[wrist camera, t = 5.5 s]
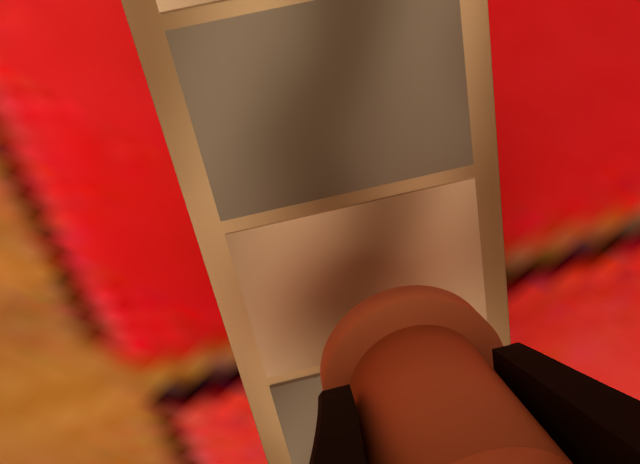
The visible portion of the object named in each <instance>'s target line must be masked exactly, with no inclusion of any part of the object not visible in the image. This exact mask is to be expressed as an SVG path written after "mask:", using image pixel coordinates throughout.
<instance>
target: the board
mask: <svg viewBox="0 0 640 464" xmlns="http://www.w3.org/2000/svg"><path fill="white" fill-rule="evenodd" d="M121 2H122V5H123V8H124V11H125V14H126V17H127V20H128V24H129V27H130V30H131V33H132V36H133V39H134V43H135V46H136V49H137V52H138V55H139V58H140V61H141V65H142V68H143V71H144V74H145V77H146V80H147V83H148V87H149V90H150V93H151V96H152V99H153V102H154V106H155V109H156V112H157V115H158V118H159V121H160V124H161V128H162V131H163V134H164V137H165V140H166V143H167V146H168V150H169V153H170V156H171V159H172V162H173V165H174V169H175V172H176V175H177V178H178V181H179V184H180V187H181V191H182V194H183V197H184V200H185V203H186V206H187V209H188V213H189V216H190V219H191V222H192V225H193V228H194V232H195V235H196V238H197V241H198V244H199V247H200V250H201V254H202V257H203V260H204V263H205V266H206V269H207V272H208V276H209V279H210V282H211V285H212V288H213V291H214V295H215V298H216V301H217V304H218V307H219V310H220V313H221V317H222V320H223V323H224V326H225V329H226V332H227V335H228V339H229V342H230V345H231V348H232V351H233V354H234V358H235V361H236V364H237V367H238V370H239V373H240V376H241V380H242V383H243V386H244V389H245V392H246V395H247V398H248V402H249V405H250V408H251V411H252V414H253V417H254V420H255V424H256V427H257V430H258V433H259V436H260V439H261V443H262V446H263V449H264V452H265V455H266V458H267V461H268V464H309V462H310V457H311V452H312V448H313V442H314V436H315V430H316V423H317V414H318V396H319V395H320V393H321V392H322V391H323V390H322V384H321V377H320V365H321V358H322V354H323V350H324V347H325V344H326V342H327V340H328V338H329V336H330V334H331V332H332V331H333V329H334V328H335V326H336V325H337V324H338V322H339V321H340V320H341V319H342V318H343V317H344V316H345V315H346V314H347V313H348V312H349V311H350V310H351V309H352V308H354V307H355V306H356V305H358V304H359V303H360V302H362V301H364V300H365V299H367V298H369V297H371V296H373V295H375V294H377V293H380V292H382V291H385V290H388V289H392V288H395V287H401V286H409V285H424V286H432V287H437V288H441V289H444V290H447V291H450V292H452V293H454V294H456V295H458V296H460V297H461V298H462V299H464V300H465V301H466V302H468V303H469V304H470V305H471V306H472V307H473V308H474V309H475V310H476V311H477V312H478V313H479V314H480V315H481V316H482V317H483V318H484V319H485V320H486V321H487V322H488V323H489V324H490V325H491V326H492V327H493V329H494V330H495V331H496V333H497V334H498V336H499V338H500V340H501V342H502V344H503V346H506V345H510V344H511V342H510V328H509V313H508V298H507V283H506V268H505V253H504V238H503V224H502V209H501V194H500V179H499V164H498V149H497V134H496V120H495V105H494V90H493V75H492V60H491V45H490V30H489V16H488V1H487V0H121Z"/></svg>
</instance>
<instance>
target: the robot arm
mask: <svg viewBox="0 0 640 464" xmlns="http://www.w3.org/2000/svg"><path fill="white" fill-rule="evenodd" d="M492 355H493V367H494V370H495V372H496V373H497V374H498V375H499V376H500V378H501V379H502V380H503V381H504V382H505V384H506V385H507V386H508V387H509V388H510V389H511V391H512V392H513V393H514V394H515V395H516V397H517V398H518V399H519V400H520V401H521V402H522V404H523V405H524V406H525V407H526V408H527V410H528V411H529V412H530V413H531V414H532V415H533V417H534V418H535V419H536V420H537V421H538V423H539V424H540V425H541V426H542V427H543V429H544V430H545V431H546V432H547V433H548V434H549V436H550V437H551V438H552V439H553V440H554V442H555V443H556V444H557V445H558V446H559V447H560V449H561V450H562V451H563V452H564V453H565V455H566V456H567V457H568V458H569V459H570V460H571V462H572V463H573V464H640V401H639V400H637V399H635V398H633V397H631V396H628V395H626V394H624V393H622V392H620V391H618V390H616V389H614V388H611V387H609V386H607V385H605V384H603V383H601V382H599V381H597V380H595V379H593V378H591V377H589V376H587V375H585V374H583V373H580V372H578V371H576V370H574V369H572V368H570V367H568V366H566V365H564V364H562V363H560V362H558V361H556V360H554V359H552V358H550V357H548V356H546V355H544V354H542V353H540V352H538V351H536V350H534V349H532V348H530V347H527V346H525V345H523V344H521V343H514V344H510V345H506V346H502V347H498V348H494V349H492ZM309 464H368V462H367V456H366V450H365V445H364V440H363V436H362V431H361V426H360V422H359V417H358V413H357V408H356V404H355V401H354V398H353V394H352V391H351V388H350V384H348V385H344V386H340V387H336V388H332V389H328V390H324V391H322V392H321V393H320V395H319V396H318V414H317V423H316V430H315V436H314V442H313V448H312V452H311V457H310V462H309Z"/></svg>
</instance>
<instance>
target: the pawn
mask: <svg viewBox="0 0 640 464" xmlns="http://www.w3.org/2000/svg"><path fill="white" fill-rule="evenodd" d="M502 346H503V344H502V342H501V340H500V338H499V336H498V334H497V333H496V331H495V330H494V329H493V327H492V326H491V325H490V324H489V323H488V322H487V321H486V320H485V319H484V318H483V317H482V316H481V315H480V314H479V313H478V312H477V311H476V310H475V309H474V308H473V307H472V306H471V305H470V304H469V303H468V302H466V301H465V300H464V299H462V298H461V297H460V296H458V295H456V294H454V293H452V292H450V291H447V290H444V289H441V288H437V287H432V286H424V285H409V286H401V287H395V288H392V289H388V290H385V291H382V292H380V293H377V294H375V295H373V296H371V297H369V298H367V299H365V300H364V301H362V302H360V303H359V304H358V305H356V306H355V307H354V308H352V309H351V310H350V311H349V312H348V313H347V314H346V315H345V316H344V317H343V318H342V319H341V320H340V321H339V322H338V324H337V325H336V326H335V328H334V329H333V331H332V332H331V334H330V336H329V338H328V340H327V342H326V344H325V347H324V350H323V354H322V358H321V365H320V377H321V384H322V390H323V391H324V390H328V389H332V388H336V387H340V386H344V385H348V384H350V388H351V391H352V394H353V398H354V401H355V404H356V408H357V413H358V417H359V422H360V426H361V431H362V436H363V440H364V445H365V450H366V456H367V462H368V464H573V463H572V462H571V460H570V459H569V458H568V457H567V456H566V455H565V453H564V452H563V451H562V450H561V449H560V447H559V446H558V445H557V444H556V443H555V442H554V440H553V439H552V438H551V437H550V436H549V434H548V433H547V432H546V431H545V430H544V429H543V427H542V426H541V425H540V424H539V423H538V421H537V420H536V419H535V418H534V417H533V415H532V414H531V413H530V412H529V411H528V410H527V408H526V407H525V406H524V405H523V404H522V402H521V401H520V400H519V399H518V398H517V397H516V395H515V394H514V393H513V392H512V391H511V389H510V388H509V387H508V386H507V385H506V384H505V382H504V381H503V380H502V379H501V378H500V376H499V375H498V374H497V373H496V372H495V370H494V367H493V355H492V349H494V348H498V347H502Z"/></svg>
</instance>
